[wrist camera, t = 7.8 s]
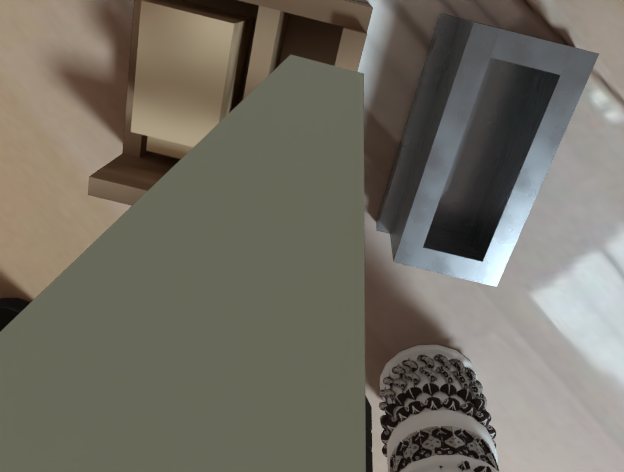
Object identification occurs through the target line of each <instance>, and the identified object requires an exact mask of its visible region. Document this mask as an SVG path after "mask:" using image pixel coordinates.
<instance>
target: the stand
mask: <svg viewBox="0 0 624 472" xmlns="http://www.w3.org/2000/svg"><path fill="white" fill-rule="evenodd" d="M598 55H599V54H598V53H594V52H590V51H586V50H583V49H579V48H575V47H571V46H567V45H563V44H559V43H555V42H551V41H547V40H543V39H540V38H536V37H532V36H528V35H524V34H520V33H516V32H512V31H508V30H504V29H500V28H496V27H492V26H488V25H484V24H480V23H476V22H473V21H469V20H465V19H461V18H457V17H453V16H449V15H445V14H441V13H440V16H439V20H438V23H437V26H436V29H435V33H434V36H433V39H432V42H431V46H430V49H429V52H428V55H427V59H426V62H425V65H424V68H423V72H422V75H421V78H420V81H419V85H418V88H417V91H416V94H415V98H414V101H413V104H412V107H411V111H410V114H409V117H408V120H407V124H406V127H405V130H404V133H403V137H402V140H401V143H400V146H399V150H398V153H397V156H396V159H395V163H394V166H393V169H392V172H391V176H390V179H389V182H388V185H387V189H386V192H385V195H384V198H383V202H382V205H381V208H380V211H379V215H378V218H377V221H376V227H377V231H381V232H385V233H389V234H390V238H391V246H392V254H393V261H394V262H396V263H400V264H404V265H408V266H413V267H417V268H421V269H425V270H429V271H433V272H437V273H441V274H446V275H450V276H454V277H458V278H462V279H466V280H470V281H474V282H479V283H483V284H487V285H491V286H495V287H497V284H498V282H499V280H500V278H501V275H502V273H503V271H504V269H505V266H506V264H507V262H508V260H509V257H510V255H511V253H512V250H513V248H514V246H515V244H516V241H517V239H518V237H519V235H520V232H521V230H522V228H523V225H524V223H525V221H526V219H527V216H528V214H529V212H530V210H531V207H532V205H533V203H534V200H535V198H536V196H537V194H538V191H539V189H540V187H541V185H542V182H543V180H544V178H545V176H546V173H547V171H548V169H549V166H550V164H551V162H552V160H553V157H554V155H555V153H556V151H557V148H558V146H559V144H560V141H561V139H562V137H563V135H564V132H565V130H566V128H567V126H568V123H569V121H570V119H571V116H572V114H573V112H574V110H575V107H576V105H577V103H578V101H579V98H580V96H581V94H582V92H583V89H584V87H585V85H586V82H587V80H588V78H589V76H590V73H591V71H592V69H593V67H594V64H595V62H596V60H597V57H598Z"/></svg>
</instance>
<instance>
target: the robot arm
mask: <svg viewBox="0 0 624 472" xmlns="http://www.w3.org/2000/svg"><path fill="white" fill-rule="evenodd" d="M371 430H372V415H371V406H370V403H369V401H368V399H367V397H366V395H365V432H366V472H373V467H372V452H371V450H372V433H371Z"/></svg>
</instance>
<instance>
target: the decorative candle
mask: <svg viewBox="0 0 624 472" xmlns="http://www.w3.org/2000/svg"><path fill="white" fill-rule="evenodd" d="M482 391H483V389H482V385H481V383H480V382H479V381H478V376H477V374H476V372H475V370H474V368H473V366H472V364H471V362H470V361H469V360H468V359H467V358H466V357H464V356H463V355H462V354H460V353H459V352H458V351H457V350H454V349H451V348H448V347H444V346H441V345H438V344H436V345H416V346H414V347H411V348H408V349H406V350H403V351H400V352H399V353H397V354H396V355H395V356H394V357H393V358H392V359H390V360H389V361H388V362H387V363H386V365H385V367H384V369H383V371H382V373H381V376H380V390H379V395H380V396H381V397H382V398H383V400H384V402H381V403H380V404H379V408H380V409H381V410H385V413H386V415H383V416H381V418H380V421H381V426H382V427H383V428H384V429H385V430H383V432H382V434H381V440H382V442H383V443H384V444H385V445H384V446H383V448H382V452H383V454H384V455H385V456H386V457H387V461H388V472H499V469H498V455H497V452H496V444H495V442H494V440H493V439H494V438H495V436H496V431H495V429H494V428H493V427H492V426H490V425H488V424H489V422H490V421H491V416H490V414H489V413H488V412H487V411H486V409H485V407H486V405H487V400H486V398H485V396H484V395H483V394H482Z"/></svg>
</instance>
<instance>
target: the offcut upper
mask: <svg viewBox="0 0 624 472" xmlns="http://www.w3.org/2000/svg"><path fill="white" fill-rule="evenodd" d="M244 24H245V21H244V20H240V19H236V18H232V17H228V16H224V15H220V14H216V13H212V12H208V11H204V10H200V9H196V8H192V7H188V6H184V5H180V4H176V3H172V2H168V1H164V0H142V1H141V13H140V25H139V37H138V49H137V61H136V74H135V86H134V98H133V110H132V122H131V132H133V133H138V134H142V135H146V136H150V137H154V138H158V139H162V140H166V141H170V142H174V143H178V144H182V145H186V146H191V147H194V146H195V145H196V144H197V143H199V142H200V141H201V140H202V139H203V138H204V137H205V136H206V135H207V134H208V133H209V132H210V131H211V130H212V129H213V128H214V127H215V126H216V125H217V124H218V123H219V122H221V121H222V120H223V119H224V118H225V117H226V116H227V115H228V114H229V113H230V111H231V104H232V98H233V92H234V86H235V80H236V74H237V67H238V61H239V55H240V49H241V43H242V36H243V30H244Z"/></svg>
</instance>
